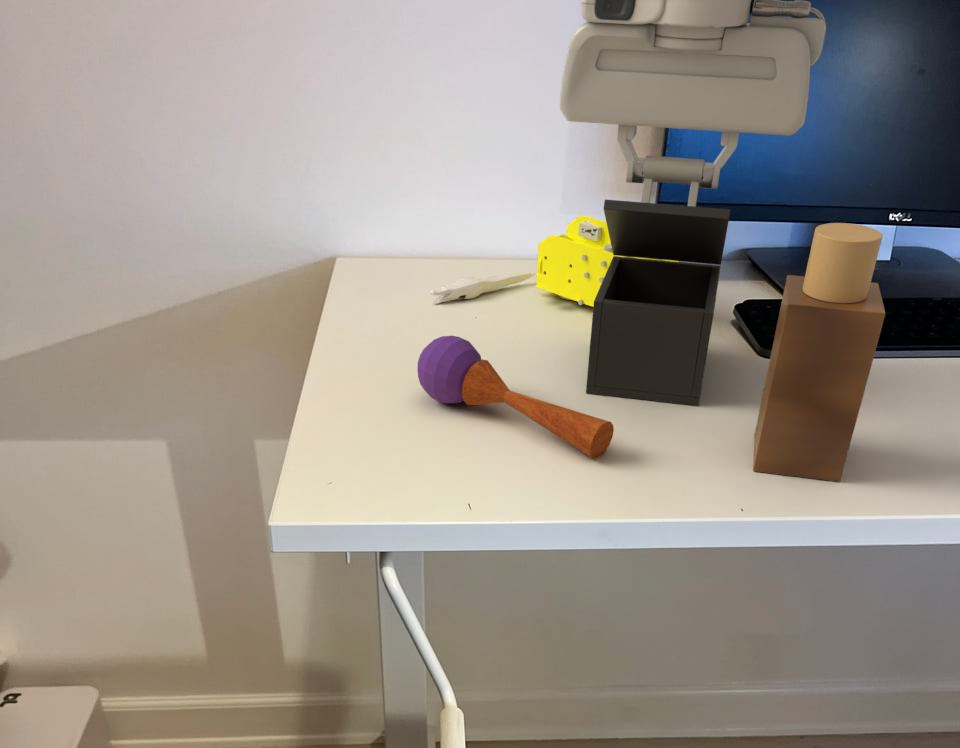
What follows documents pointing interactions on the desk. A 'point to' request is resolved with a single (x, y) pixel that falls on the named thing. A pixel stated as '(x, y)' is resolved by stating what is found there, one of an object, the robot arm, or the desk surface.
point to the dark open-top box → (652, 330)
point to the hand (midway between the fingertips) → (671, 184)
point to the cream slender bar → (476, 286)
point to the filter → (841, 262)
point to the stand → (815, 382)
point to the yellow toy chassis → (576, 260)
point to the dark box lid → (668, 218)
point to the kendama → (502, 394)
